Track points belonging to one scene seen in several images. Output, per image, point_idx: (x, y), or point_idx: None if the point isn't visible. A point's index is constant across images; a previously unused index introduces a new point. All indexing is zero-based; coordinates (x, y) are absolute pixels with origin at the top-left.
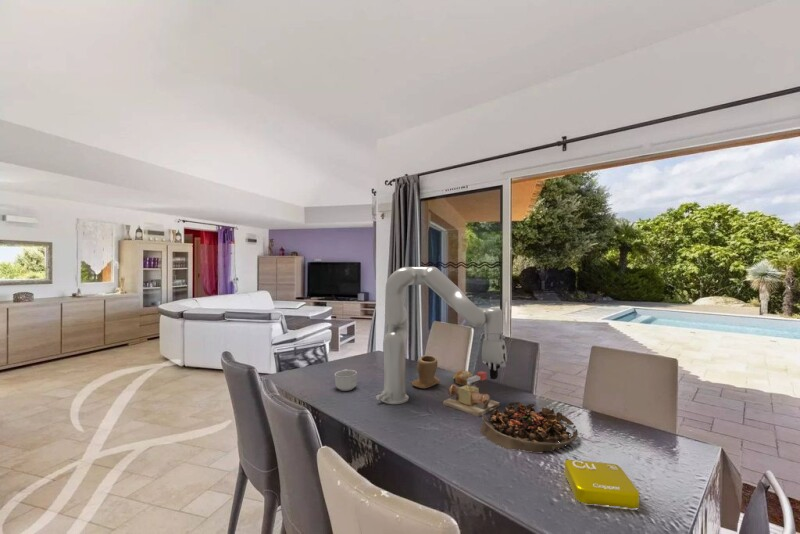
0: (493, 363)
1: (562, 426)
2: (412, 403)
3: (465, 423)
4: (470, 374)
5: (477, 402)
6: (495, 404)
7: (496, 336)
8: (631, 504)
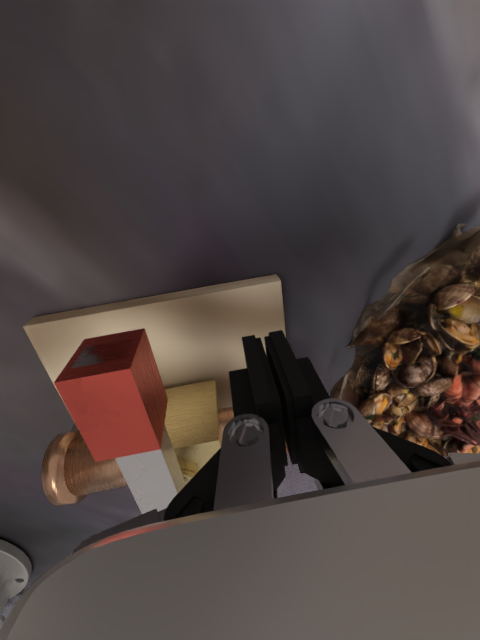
0: (272, 493)
1: None
2: (40, 535)
3: (295, 485)
4: None
5: None
6: (284, 321)
7: None
8: None
